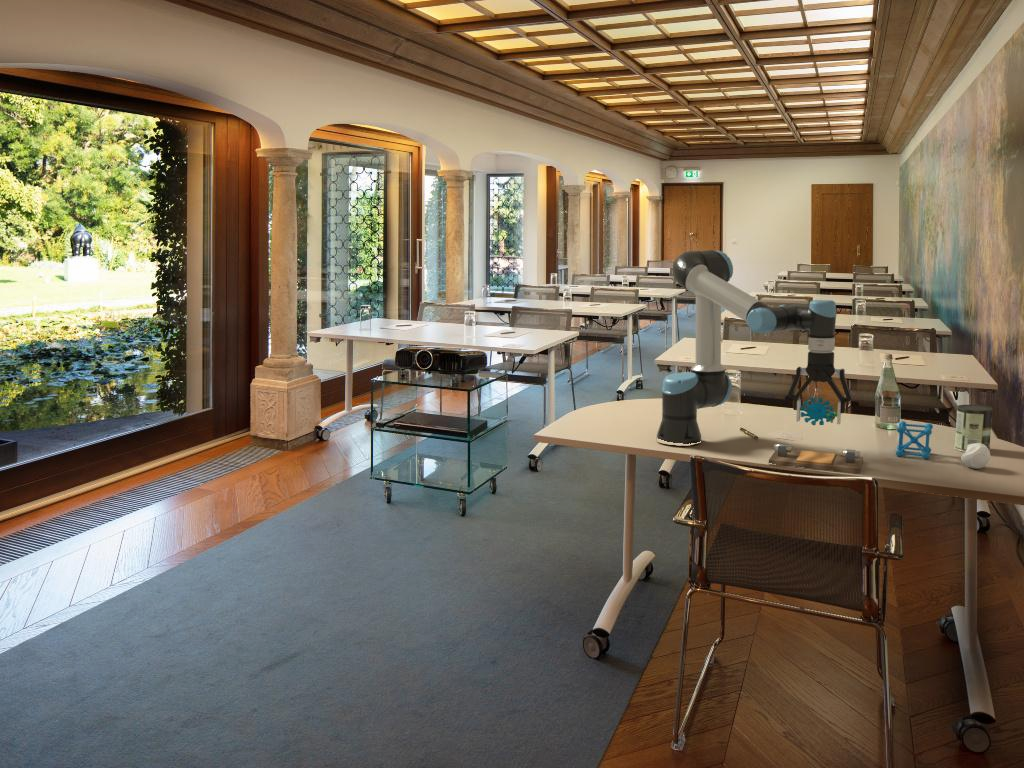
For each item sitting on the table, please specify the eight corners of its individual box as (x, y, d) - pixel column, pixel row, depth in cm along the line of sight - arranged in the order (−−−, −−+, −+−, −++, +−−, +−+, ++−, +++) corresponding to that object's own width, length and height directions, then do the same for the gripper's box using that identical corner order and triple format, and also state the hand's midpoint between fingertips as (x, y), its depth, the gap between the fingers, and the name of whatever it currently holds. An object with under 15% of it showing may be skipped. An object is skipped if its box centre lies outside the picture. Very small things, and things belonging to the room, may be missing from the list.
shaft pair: (773, 455, 269) (773, 445, 269) (775, 452, 273) (775, 442, 272) (858, 464, 258) (859, 453, 258) (859, 460, 262) (860, 450, 261)
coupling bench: (768, 464, 265) (768, 458, 264) (776, 453, 278) (776, 447, 278) (859, 473, 254) (859, 467, 253) (862, 461, 267) (863, 455, 267)
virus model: (796, 419, 262) (804, 393, 267) (796, 429, 267) (804, 403, 272) (833, 427, 258) (841, 400, 262) (833, 437, 262) (840, 411, 267)
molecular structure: (894, 457, 272) (896, 426, 270) (897, 449, 280) (899, 420, 279) (929, 460, 267) (931, 429, 265) (931, 453, 276) (933, 422, 274)
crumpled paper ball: (963, 463, 263) (965, 438, 262) (991, 467, 258) (993, 442, 257) (957, 469, 257) (959, 444, 256) (986, 473, 252) (988, 447, 251)
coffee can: (979, 445, 284) (982, 404, 281) (996, 453, 274) (999, 410, 271) (947, 446, 284) (950, 404, 282) (963, 454, 274) (966, 410, 271)
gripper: (779, 351, 262) (776, 421, 265) (862, 354, 251) (858, 427, 255) (782, 348, 268) (780, 417, 272) (863, 351, 258) (860, 422, 262)
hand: (818, 422), depth 263 cm, fingers closed on virus model, 11 cm apart
